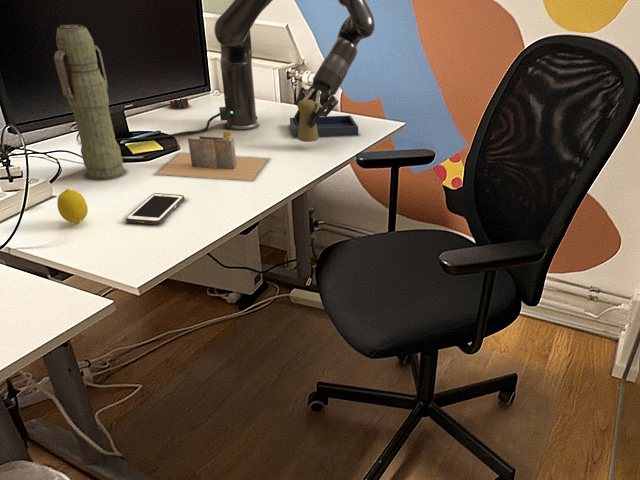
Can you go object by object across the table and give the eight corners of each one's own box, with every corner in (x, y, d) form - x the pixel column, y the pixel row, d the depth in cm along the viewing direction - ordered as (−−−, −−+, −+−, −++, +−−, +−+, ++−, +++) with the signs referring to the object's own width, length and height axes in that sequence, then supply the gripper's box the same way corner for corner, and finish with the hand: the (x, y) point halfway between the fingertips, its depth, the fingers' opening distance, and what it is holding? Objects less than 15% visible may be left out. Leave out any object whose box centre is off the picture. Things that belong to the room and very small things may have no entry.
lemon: (95, 218, 132) (86, 184, 128) (85, 229, 127) (75, 194, 123) (69, 218, 132) (60, 183, 127) (58, 229, 127) (48, 194, 123)
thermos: (74, 178, 151) (34, 27, 132) (107, 163, 160) (74, 21, 141) (104, 184, 148) (67, 31, 130) (135, 168, 158) (105, 24, 139)
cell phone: (124, 222, 131) (124, 218, 130) (154, 196, 143) (153, 192, 142) (159, 225, 130) (158, 221, 130) (185, 198, 143) (185, 195, 142)
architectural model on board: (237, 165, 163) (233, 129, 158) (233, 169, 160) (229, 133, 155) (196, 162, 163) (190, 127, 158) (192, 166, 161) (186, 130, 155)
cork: (295, 136, 177) (293, 98, 171) (314, 134, 179) (313, 96, 173) (301, 142, 172) (299, 103, 166) (321, 140, 174) (320, 102, 168)
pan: (294, 138, 184) (294, 129, 183) (290, 125, 195) (289, 117, 193) (358, 135, 189) (358, 126, 188) (350, 123, 199) (350, 115, 198)
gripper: (307, 61, 174) (278, 111, 172) (343, 69, 166) (313, 122, 165) (320, 77, 180) (292, 125, 179) (355, 86, 173) (327, 136, 171)
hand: (302, 123), depth 172 cm, fingers closed on cork, 4 cm apart
